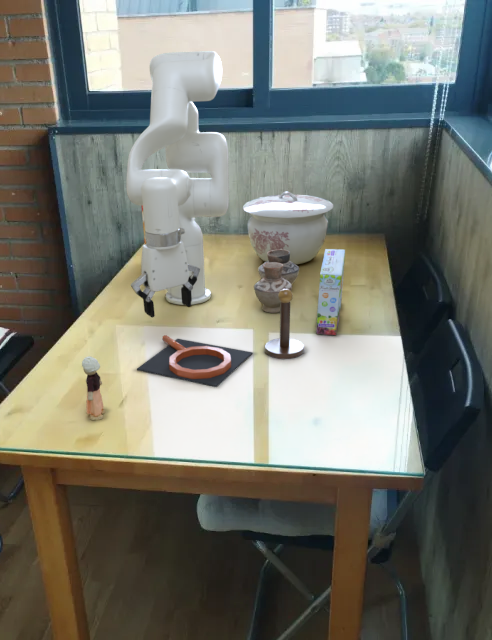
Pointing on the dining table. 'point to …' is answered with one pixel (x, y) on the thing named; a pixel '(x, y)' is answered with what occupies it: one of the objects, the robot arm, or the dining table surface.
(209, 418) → the dining table surface
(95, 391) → the grandmother figurine
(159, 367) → the mat
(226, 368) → the orange ring with handle
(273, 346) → the coat peg
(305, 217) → the chamber pot
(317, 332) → the snack box
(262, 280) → the pottery
